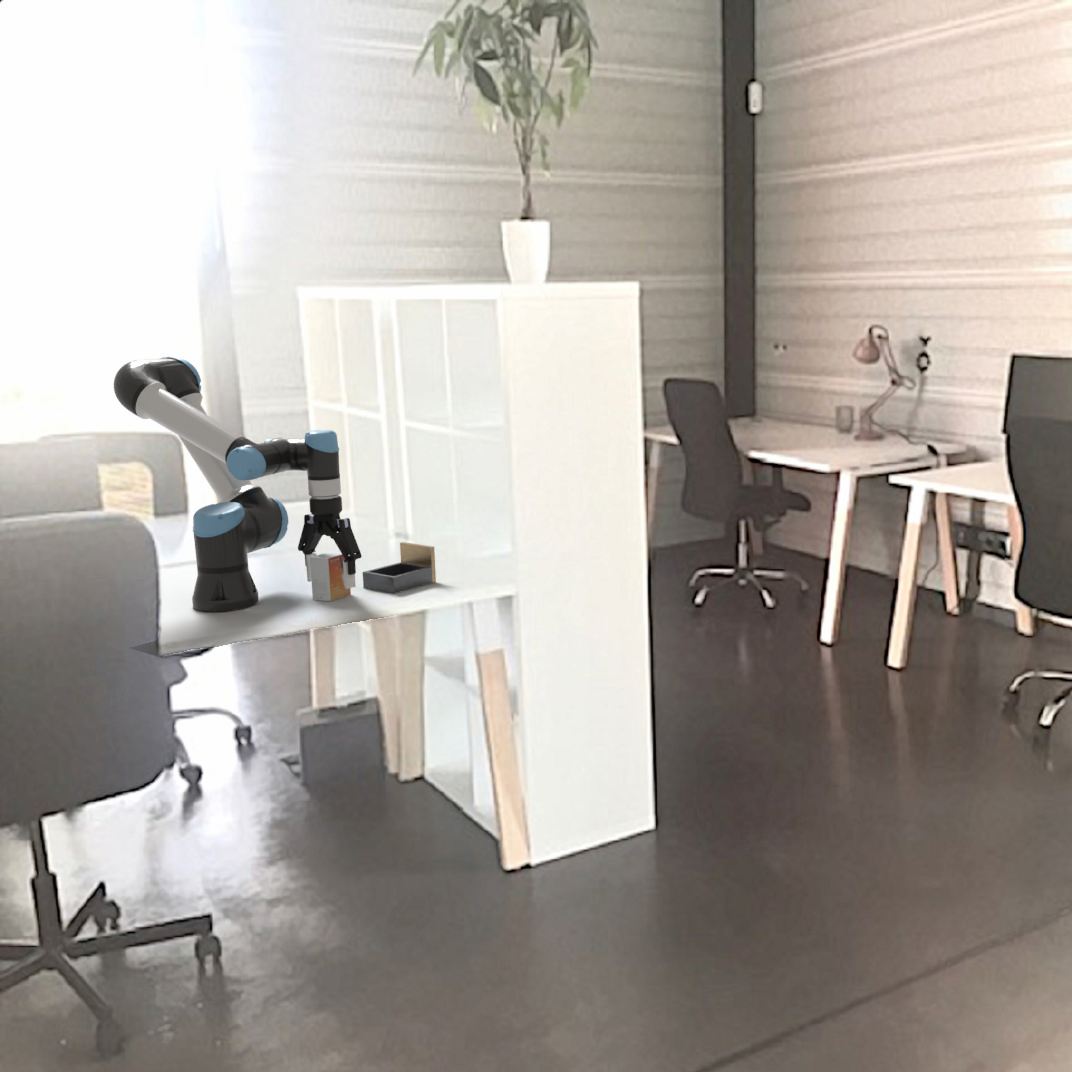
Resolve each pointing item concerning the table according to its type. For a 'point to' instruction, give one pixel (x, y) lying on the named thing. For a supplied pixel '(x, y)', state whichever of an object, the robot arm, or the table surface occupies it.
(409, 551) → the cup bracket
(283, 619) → the table surface
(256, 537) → the robot arm
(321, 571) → the small box
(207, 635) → the table surface
